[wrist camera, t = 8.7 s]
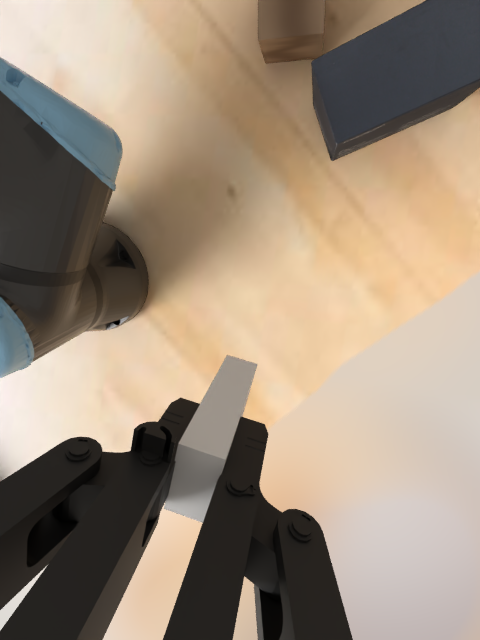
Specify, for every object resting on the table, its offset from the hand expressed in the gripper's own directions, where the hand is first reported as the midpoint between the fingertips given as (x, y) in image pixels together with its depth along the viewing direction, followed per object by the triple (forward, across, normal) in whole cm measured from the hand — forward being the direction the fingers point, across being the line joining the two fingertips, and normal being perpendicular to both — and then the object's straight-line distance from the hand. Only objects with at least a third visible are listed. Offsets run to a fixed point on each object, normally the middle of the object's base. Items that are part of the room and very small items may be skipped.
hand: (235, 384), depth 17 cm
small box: (+31, +5, +20) cm, 37 cm away
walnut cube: (+31, -6, +25) cm, 40 cm away
